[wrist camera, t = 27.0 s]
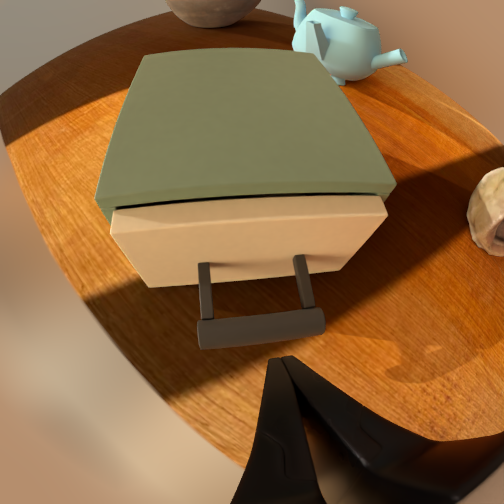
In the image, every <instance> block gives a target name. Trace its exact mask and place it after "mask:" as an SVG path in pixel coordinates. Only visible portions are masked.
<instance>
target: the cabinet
mask: <svg viewBox="0 0 504 504" xmlns="http://www.w3.org/2000/svg"><path fill="white" fill-rule="evenodd" d="M396 185H397V183H396V181H395V179H394V177H393V175H392V173H391V171H390V169H389V167H388V165H387V163H386V161H385V160H384V158H383V156H382V154H381V152H380V150H379V149H378V147H377V145H376V143H375V142H374V140H373V138H372V136H371V135H370V133H369V131H368V130H367V128H366V126H365V125H364V123H363V122H362V120H361V118H360V117H359V115H358V114H357V112H356V111H355V109H354V108H353V106H352V105H351V103H350V102H349V100H348V99H347V97H346V96H345V94H344V93H343V92H342V90H341V89H340V87H339V86H338V85H337V83H336V82H335V80H334V79H333V78H332V76H331V75H330V74H329V72H328V71H327V70H326V68H325V67H324V66H323V65H322V63H321V62H320V61H319V60H318V58H317V57H316V56H315V55H314V54H313V53H306V52H297V51H288V50H275V49H257V48H214V49H196V50H184V51H174V52H166V53H158V54H152V55H145V56H144V58H143V60H142V62H141V64H140V66H139V68H138V70H137V72H136V75H135V77H134V79H133V81H132V84H131V86H130V88H129V91H128V93H127V96H126V98H125V101H124V103H123V106H122V108H121V111H120V113H119V116H118V119H117V122H116V125H115V127H114V130H113V133H112V136H111V139H110V142H109V146H108V149H107V152H106V156H105V159H104V162H103V166H102V170H101V173H100V177H99V181H98V185H97V189H96V194H95V201H96V202H97V204H98V206H99V207H100V208H101V211H102V212H103V214H104V216H105V217H106V219H107V221H108V222H109V224H110V225H111V223H112V216H113V211H114V210H120V209H128V208H137V207H140V204H143V203H152V202H161V201H172V200H182V199H194V198H207V197H221V196H237V195H256V194H280V193H325V192H349V194H348V195H366V196H380V197H381V199H382V201H383V203H384V201H385V200H386V199H387V197H388V196H389V195H390V193H391V192H392V190H393V189H394V188H395V186H396Z"/></svg>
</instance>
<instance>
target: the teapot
mask: <svg viewBox="0 0 504 504" xmlns="http://www.w3.org/2000/svg"><path fill="white" fill-rule="evenodd" d="M295 4H296V11H295V16H294V27H295V30H296V33H295V35H294V38H293V42H292V46H293V49H294V51H297V52H306V53H313V54H314V55H315V56H316V57H317V58H318V60H319V61H320V62H321V63H322V65H323V66H324V67H325V68H326V70H327V71H328V72H329V74H331V76H332V78H333V79H334V80H335V82H336V83H337V85H345V80H350V81H356V80H361V79H364V78H366V77H368V76H370V75H371V74H373V73H374V72H375V71H376V70H377V69H380V68H384V67H388V66H393V65H398V64H402V63H407V62H408V60H407V57H406V55H405V53H404V51H403V50H402V49H397V50H394V51H390V52H387V53H384V54H381V40H380V34H379V30H378V28H377V27H376V26H374V25H372V24H370V23H368V22H366V21H365V20H362V19H360V18H357V17H356V15H357V14H358V12H357V11H356V10H354V9H351V8H348V7H344V6H340V11H337V10H333V9H324V8H321V9H320V8H318V9H313V10H312V11H311V12H310V13H309V14H308V15H307V14H306V5H305V2H304V0H295Z"/></svg>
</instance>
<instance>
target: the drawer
mask: <svg viewBox="0 0 504 504" xmlns="http://www.w3.org/2000/svg"><path fill="white" fill-rule="evenodd" d="M348 194H349V192H325V193H305V196H286V197H262V198H242V199H226V200H212V201H198V202H186V203H184V199H182V200H172V201H161V202H152V203H143V204H140V207H137V208H128V209H120V210H114V211H113V216H112V223H111V230H110V234H111V236H112V237H113V239H114V240H115V241H116V243H117V244H118V246H119V247H120V249H121V250H122V251H123V253H124V254H125V256H126V257H127V259H128V260H129V261H130V263H131V264H132V265H133V267H134V268H135V270H136V271H137V272H138V274H139V275H140V276H141V278H142V279H143V280H144V282H145V283H146V284H147V285H148V287H165V286H179V285H192V284H199V295H200V309H201V319H202V320H199V321H198V322H197V332H198V341H199V347H200V349H201V350H203V349H216V348H227V347H237V346H246V345H255V344H263V343H271V342H278V341H285V340H292V339H298V338H304V337H310V336H316V335H322V334H323V333H324V332H325V327H326V322H325V316H324V313H323V311H322V309H321V308H319V307H316V308H314V307H315V306H316V305H315V300H314V295H313V291H312V286H311V281H310V276H309V274H311V273H320V272H329V271H337V270H340V269H341V268H342V267H343V266H344V265H345V264H346V263H347V262H348V261H349V259H350V258H351V257H352V256H353V255H354V254H355V253H356V252H357V251H358V250H359V248H360V247H361V246H362V245H363V244H364V243H365V242H366V241H367V239H368V238H369V237H370V236H371V235H372V234H373V233H374V231H375V230H376V229H377V228H378V227H379V226H380V225H381V223H382V222H383V221H384V220H385V219H386V217H387V216H388V213H387V211H386V208H385V206H384V203H383V201H382V199H381V197H380V196H366V195H348ZM292 275H295V276H296V281H297V286H298V291H299V297H300V302H301V307H302V310H295V311H287V312H279V313H271V314H263V315H254V316H244V317H234V318H224V319H214V310H213V299H212V288H211V283H217V282H229V281H240V280H251V279H262V278H272V277H282V276H292Z"/></svg>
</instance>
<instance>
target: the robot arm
mask: <svg viewBox="0 0 504 504" xmlns="http://www.w3.org/2000/svg"><path fill="white" fill-rule="evenodd" d="M320 490H321V491H320ZM321 492H322V493H321ZM322 494H323V496H322ZM323 497H324V498H323ZM230 504H504V431H503V432H501V433H498V434H495V435H491V436H485V437H479V438H472V439H464V440H455V441H434V440H430V439H427V438H425V437H422V436H420V435H418V434H416V433H413V432H411V431H409V430H407V429H405V428H402V427H400V426H398V425H396V424H394V423H392V422H390V421H388V420H386V419H385V418H383V417H381V416H379V415H378V414H376V413H375V412H373V411H371V410H370V409H368V408H367V407H365V406H363V405H362V404H361V403H359V402H358V401H356V400H355V399H353V398H352V397H350V396H349V395H347V394H346V393H344V392H343V391H342V390H340V389H339V388H337V387H336V386H334V385H333V384H332V383H330V382H329V381H327V380H326V379H324V378H323V377H322V376H320V375H319V374H318V373H316V372H315V371H313V370H312V369H311V368H309V367H308V366H307V365H305V364H304V363H302V362H301V361H300V360H298V359H297V358H296V357H294V356H292V355H291V356H285V357H282V358H279V357H278V358H272V359H269V360H268V365H267V371H266V377H265V383H264V389H263V395H262V401H261V406H260V412H259V417H258V423H257V428H256V433H255V438H254V443H253V447H252V451H251V455H250V457H249V460H248V463H247V466H246V469H245V471H244V473H243V476H242V478H241V481H240V483H239V485H238V488H237V490H236V492H235V495H234V497H233V499H232V501H231V503H230Z"/></svg>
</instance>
